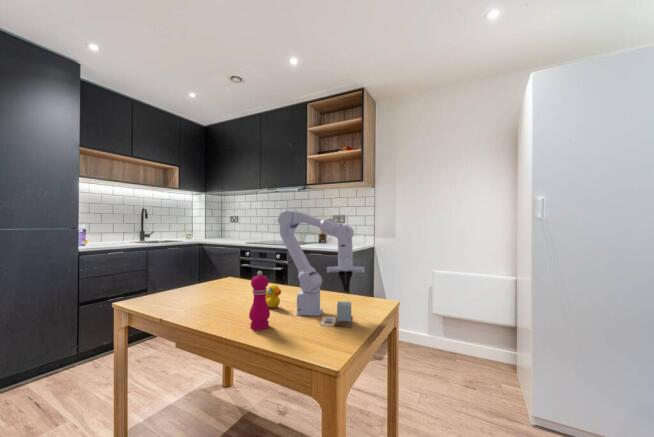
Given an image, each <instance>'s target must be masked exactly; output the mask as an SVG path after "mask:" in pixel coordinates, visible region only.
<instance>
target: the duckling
mask: <svg viewBox="0 0 654 437" xmlns="http://www.w3.org/2000/svg"><path fill="white" fill-rule="evenodd" d="M281 293H282V290H281V289H280V287H279V286H278V285H276V284H272V285H270V286H269V287H268V288H267V293H266V296H265V297H266V303H267V305H268V307H269V309H276V308H278V307H279V305H280V303H281V300H280V297H279V296H280V295H281Z"/></svg>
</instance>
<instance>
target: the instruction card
mask: <svg viewBox="0 0 654 437" xmlns="http://www.w3.org/2000/svg"><path fill="white" fill-rule="evenodd" d="M336 317H337V316H323V317H322V319H321V323H320V326H335V327H336Z"/></svg>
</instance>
